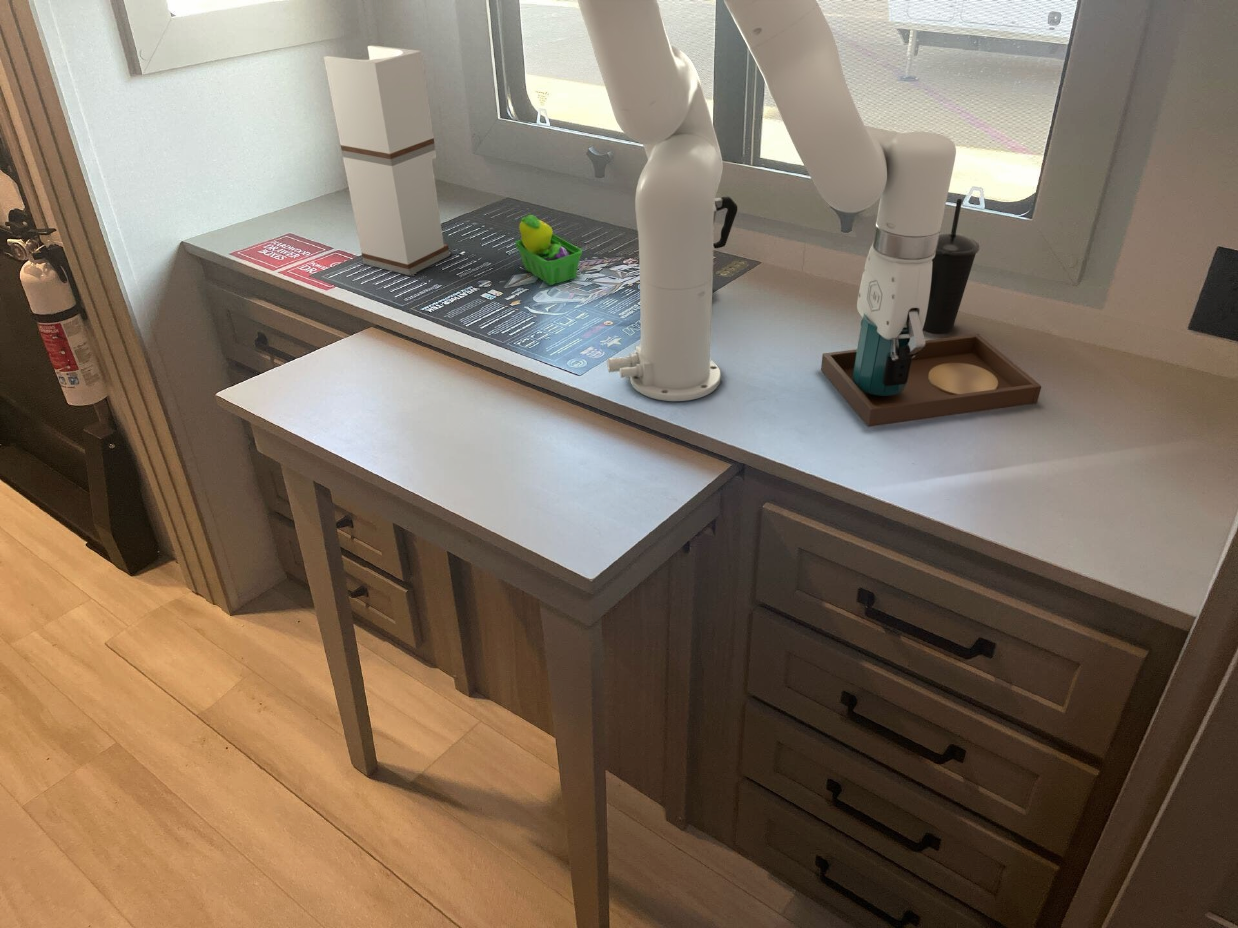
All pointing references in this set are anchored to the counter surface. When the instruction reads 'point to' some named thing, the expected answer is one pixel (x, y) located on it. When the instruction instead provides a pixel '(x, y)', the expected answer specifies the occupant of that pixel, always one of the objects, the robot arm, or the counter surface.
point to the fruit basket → (546, 252)
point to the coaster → (961, 378)
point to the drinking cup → (949, 277)
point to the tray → (925, 397)
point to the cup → (874, 360)
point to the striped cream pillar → (388, 156)
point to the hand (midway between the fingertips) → (881, 369)
